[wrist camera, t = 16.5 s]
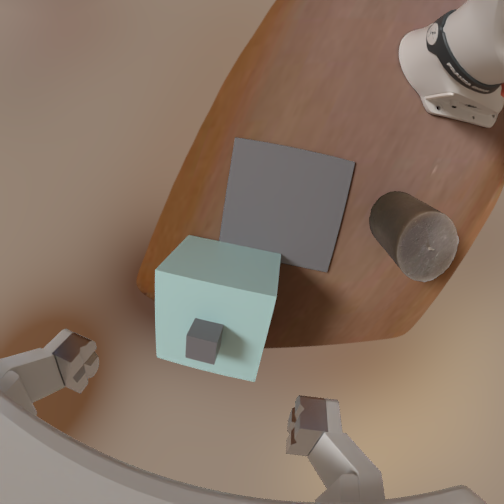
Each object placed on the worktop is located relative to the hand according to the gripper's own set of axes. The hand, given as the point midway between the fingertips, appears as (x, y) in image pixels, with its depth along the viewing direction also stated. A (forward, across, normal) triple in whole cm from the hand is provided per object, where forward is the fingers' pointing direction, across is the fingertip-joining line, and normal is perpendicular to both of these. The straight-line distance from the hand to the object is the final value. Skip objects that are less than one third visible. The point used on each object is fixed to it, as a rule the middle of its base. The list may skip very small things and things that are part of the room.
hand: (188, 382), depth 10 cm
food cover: (+39, +4, +17) cm, 43 cm away
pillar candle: (+39, -22, -1) cm, 45 cm away
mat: (+39, -3, +1) cm, 39 cm away
